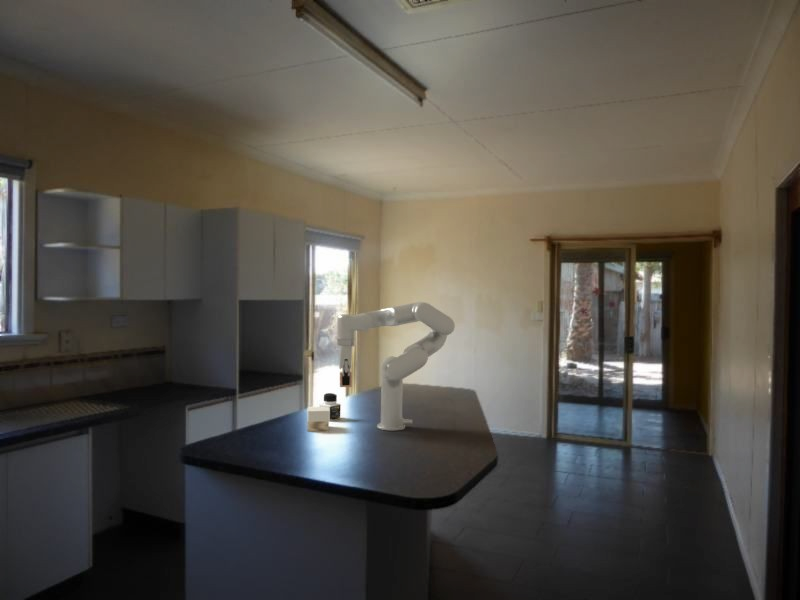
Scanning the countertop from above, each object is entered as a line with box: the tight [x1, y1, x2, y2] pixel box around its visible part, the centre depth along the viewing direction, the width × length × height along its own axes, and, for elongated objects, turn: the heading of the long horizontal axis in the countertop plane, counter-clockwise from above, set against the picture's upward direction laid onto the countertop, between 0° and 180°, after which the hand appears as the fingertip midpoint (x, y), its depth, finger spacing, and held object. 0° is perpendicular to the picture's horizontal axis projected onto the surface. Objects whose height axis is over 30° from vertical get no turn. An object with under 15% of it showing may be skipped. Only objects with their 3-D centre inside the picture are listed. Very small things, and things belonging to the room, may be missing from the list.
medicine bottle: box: [319, 392, 341, 422], centre depth 264 cm, size 7×7×12 cm
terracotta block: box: [339, 371, 353, 388], centre depth 246 cm, size 5×5×6 cm
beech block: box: [306, 420, 330, 433], centre depth 245 cm, size 9×9×4 cm
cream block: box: [307, 406, 330, 422], centre depth 245 cm, size 9×9×4 cm
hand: (345, 383), depth 246 cm, fingers closed on terracotta block, 4 cm apart
